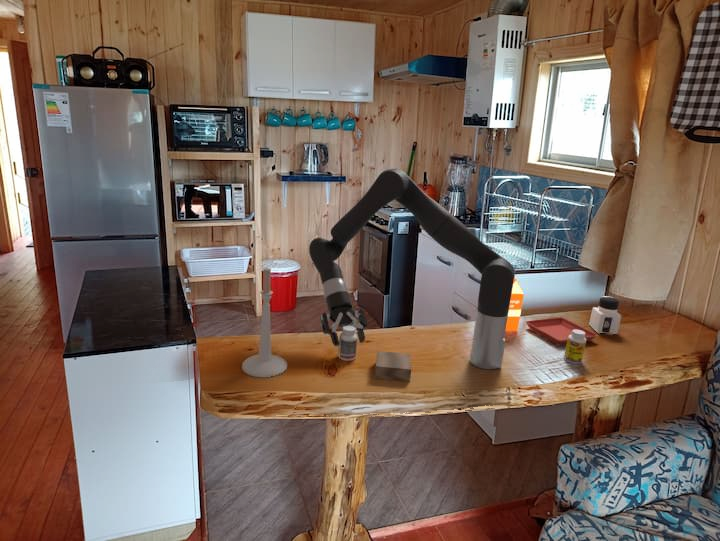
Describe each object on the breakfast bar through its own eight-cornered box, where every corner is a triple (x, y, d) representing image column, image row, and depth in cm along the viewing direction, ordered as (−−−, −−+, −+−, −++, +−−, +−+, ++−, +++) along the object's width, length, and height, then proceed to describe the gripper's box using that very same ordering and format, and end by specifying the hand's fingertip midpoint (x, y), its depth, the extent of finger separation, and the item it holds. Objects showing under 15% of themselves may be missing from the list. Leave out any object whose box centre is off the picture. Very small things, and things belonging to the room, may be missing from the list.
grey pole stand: (287, 377, 148) (291, 275, 139) (240, 377, 146) (241, 274, 137) (286, 356, 160) (290, 261, 151) (243, 356, 158) (244, 260, 149)
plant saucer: (523, 328, 197) (524, 320, 196) (560, 324, 204) (561, 316, 203) (557, 349, 181) (559, 340, 180) (596, 343, 188) (598, 335, 187)
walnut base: (408, 365, 160) (410, 353, 159) (409, 382, 150) (411, 369, 149) (375, 362, 160) (377, 350, 159) (374, 378, 151) (376, 366, 149)
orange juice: (498, 332, 191) (506, 279, 185) (487, 322, 199) (495, 271, 193) (517, 331, 193) (526, 279, 187) (506, 322, 201) (515, 272, 195)
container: (617, 335, 197) (625, 302, 193) (596, 333, 196) (604, 300, 193) (608, 327, 204) (615, 295, 200) (588, 325, 204) (595, 293, 200)
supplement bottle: (564, 362, 170) (570, 333, 167) (563, 355, 176) (569, 327, 173) (582, 365, 169) (588, 336, 166) (581, 358, 174) (587, 330, 171)
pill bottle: (359, 359, 162) (361, 329, 159) (344, 362, 159) (346, 332, 156) (349, 352, 166) (351, 323, 163) (334, 355, 163) (336, 326, 160)
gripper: (319, 292, 160) (332, 342, 154) (361, 288, 166) (375, 336, 160) (312, 302, 166) (324, 351, 160) (352, 298, 172) (366, 345, 166)
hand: (350, 343), depth 160 cm, fingers open, 8 cm apart
